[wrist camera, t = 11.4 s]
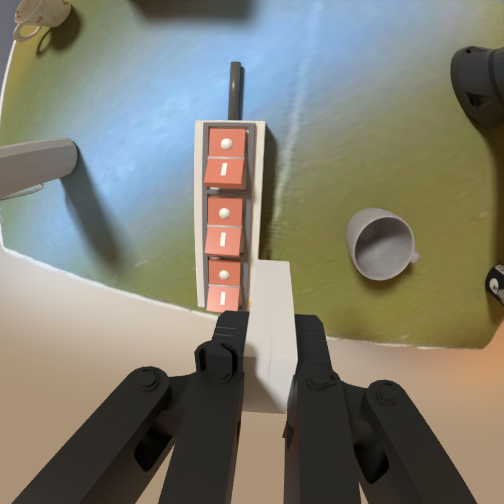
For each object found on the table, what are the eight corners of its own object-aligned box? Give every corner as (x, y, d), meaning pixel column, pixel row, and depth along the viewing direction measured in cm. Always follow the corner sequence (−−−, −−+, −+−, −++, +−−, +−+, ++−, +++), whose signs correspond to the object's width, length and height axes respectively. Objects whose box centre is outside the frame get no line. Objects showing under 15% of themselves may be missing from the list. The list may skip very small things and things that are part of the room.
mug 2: (328, 242, 42) (341, 270, 34) (349, 190, 39) (370, 204, 30) (390, 265, 43) (413, 294, 34) (412, 217, 40) (442, 238, 31)
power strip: (205, 65, 33) (197, 57, 29) (268, 65, 33) (267, 55, 29) (203, 293, 47) (197, 308, 43) (256, 298, 47) (254, 314, 43)
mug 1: (81, 8, 28) (50, -7, 19) (39, 55, 31) (6, 49, 22) (69, -8, 26) (40, -21, 16) (30, 36, 29) (-1, 30, 20)
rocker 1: (212, 133, 35) (209, 126, 32) (247, 134, 34) (246, 126, 32) (206, 189, 35) (202, 185, 32) (243, 190, 34) (241, 186, 32)
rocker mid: (211, 197, 38) (207, 195, 35) (244, 198, 37) (243, 196, 35) (207, 254, 38) (203, 255, 36) (241, 256, 38) (239, 258, 36)
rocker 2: (211, 257, 41) (208, 258, 39) (242, 259, 41) (241, 260, 39) (208, 309, 42) (205, 312, 39) (239, 311, 41) (237, 315, 39)
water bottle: (59, 130, 38) (-54, 148, 15) (86, 145, 39) (-34, 171, 16) (45, 175, 41) (-58, 213, 18) (71, 192, 42) (-37, 241, 19)
